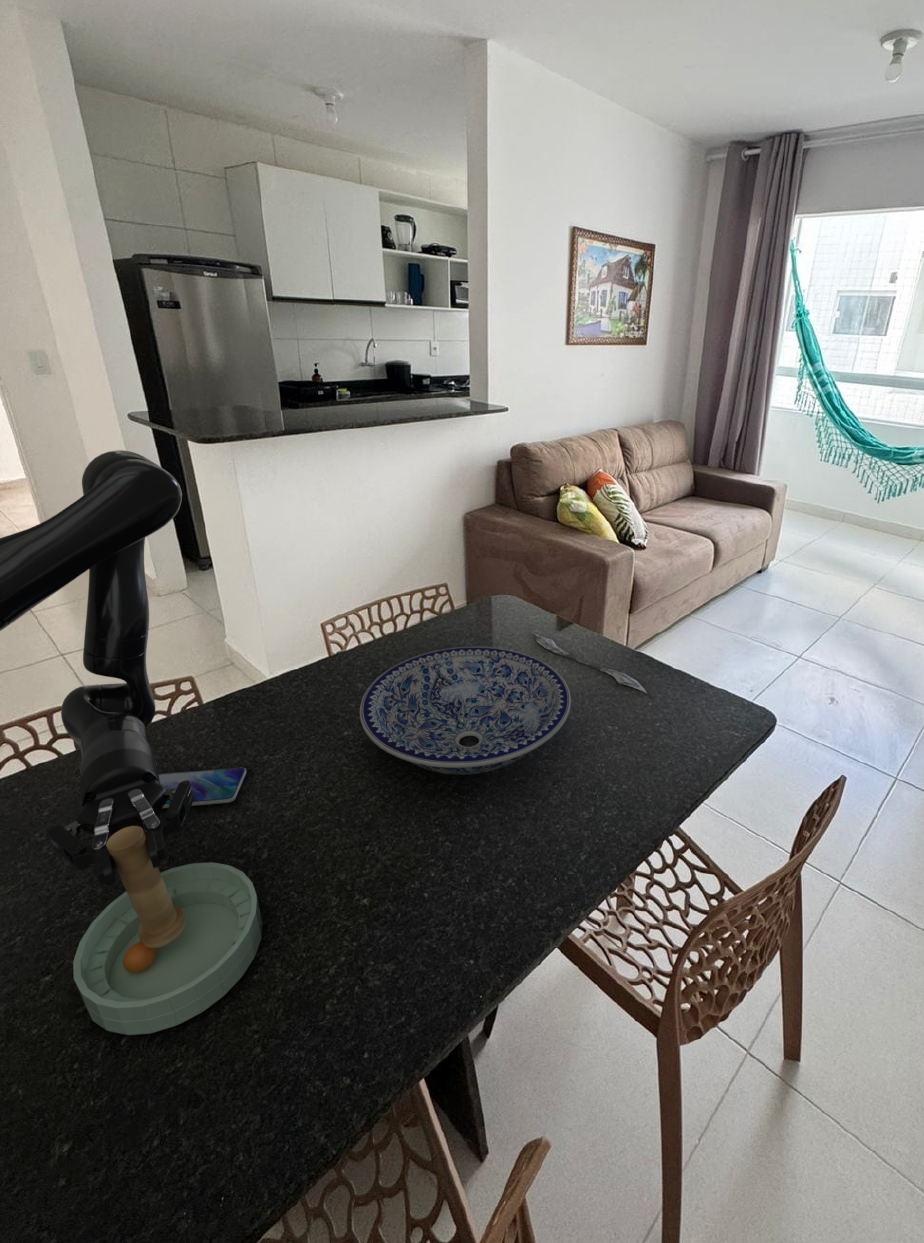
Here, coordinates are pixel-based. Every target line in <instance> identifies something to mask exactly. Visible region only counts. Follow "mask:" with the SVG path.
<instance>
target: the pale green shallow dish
mask: <svg viewBox="0 0 924 1243" xmlns="http://www.w3.org/2000/svg"><path fill="white" fill-rule="evenodd" d="M160 873H161V876H162V878H163V881H164V883H165V886H166V888H167V890H168V893H169V895H170V898H171V900H172V903H173V905H176V906H179V907H181V908H182V910H183V912H184V914H185V917H186V924H185V927H184V929H183V930H182V932H181V933H180V934H179V935H178V936H177V937H176V938H175V939H174V940H172V941H171V942H169V943H168V944H166V945H163V946H161V947H157V948H155V949H156V956H155V959H154V961H153V963H152V964H151V965H150V966H149V967H148V968H147V969H146V970H144V971H142V972H139V973H130V972H128V971H127V970H126V969H125V968H124V966H123V957H124V955H125V953H126V951H127V950H128V949H129V948H130V947H131V946H132V945H134V944H136V943H138V942H141V940H140V938H139V936H138V929H139V927H140V925H141V923H140V921H139V918H138V916H137V914H136V912H135V909H134V907H133V905H132V903H131V900H130V898H129V896H128V894H127V892H126V891H124V892H123V893H122V894H121V895H119V896H118V897H117V898H115V899H114V900H112V902H110V903H109V904H108V905H107V906H106V907H105V908H104V909H103V910H102V911H101V912H100V913H99V914H98V915H97V916H96V918H95V919H94V920H93V921H92V922H91V923H90V925H89V926H88V927H87V929H86V931H85V933H84V934H83V936H82V937H81V939H80V941H79V942H78V946H77V949H76V951H75V955H74V958H73V961H72V965H73V966H72V970H73V981H74V983H75V986H76V988H77V990H78V993H79V996H80V997H81V1000H82V1002H83V1003H82V1004H83V1005H84V1007H85V1010H86V1011H87V1013H88V1015H89V1017H90V1019H91V1020H92V1022H93V1023H94V1024H96V1025H98V1026H99V1027H101V1028H102V1029H103V1030H105V1031H108V1032H111V1033H117V1034H120V1035H126V1036H134V1035H135V1036H136V1035H148V1034H153V1033H157V1032H160V1031H163V1030H166V1029H171V1028H173V1027H176V1026H179V1025H181V1024H183V1023H185V1022H186V1021H188V1020H190V1019H192V1018H194V1017H196V1016H198V1015H200V1014H202V1013H204V1012H205V1011H206V1010H207V1009H209V1008H210V1007H212V1006H213V1005H214V1004H216V1003H217V1002H218V1001H219V1000H221V999H222V998H223V997H225V996H226V994H228V993H229V991H230V990H231V989H232V988H233V987H234V986H235V985H236V984H237V983H238V982H239V981H240V979H241V978H243V976H244V974H245V973H246V972H247V970H248V969H249V967H250V965H251V964H252V962H253V960H254V959H255V957H256V956H257V952H258V949H259V947H260V944H261V941H262V936H263V935H262V932H263V919H262V914H261V909H260V903H259V899H258V894H257V891H256V889H255V886H254V882H253V881H251V879H250V878H249V876H247V875H246V873H245V872H244V871H242V870H240V869H238V868H236V867H234V866H232V865H229V864H223V863H219V862H193V863H188V864H184V865H180V866H175V867H171V868H169V869H166V870H164V871H160Z"/></svg>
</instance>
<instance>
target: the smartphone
mask: <svg viewBox="0 0 924 1243" xmlns="http://www.w3.org/2000/svg"><path fill="white" fill-rule="evenodd" d="M158 775H159V779H160V784H162V785H164V786H165V787H166V788H167V789H170V788H177V787H178V784H179V783H180V782H182V781H185V780H188V781H190V784H191V787H192V791H193V795H194V801H193V803H192V806H191V807H194V806H206V805H219V804H229V803H232V802H234V801H235V800H236V798H237V796H238V793H239V791H240V789H241V787H242V784H243V782H244V779H245V777H246V775H247V768H245V767H234V768H231V767H230V768H223V769H222V768H219V769H207V770H194V771H179V772H166V773H158ZM170 803H171V802H170V800H168V801H167V802H166V804H165V805H164V806H163V807H162V809H168V807H169V805H170Z"/></svg>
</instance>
